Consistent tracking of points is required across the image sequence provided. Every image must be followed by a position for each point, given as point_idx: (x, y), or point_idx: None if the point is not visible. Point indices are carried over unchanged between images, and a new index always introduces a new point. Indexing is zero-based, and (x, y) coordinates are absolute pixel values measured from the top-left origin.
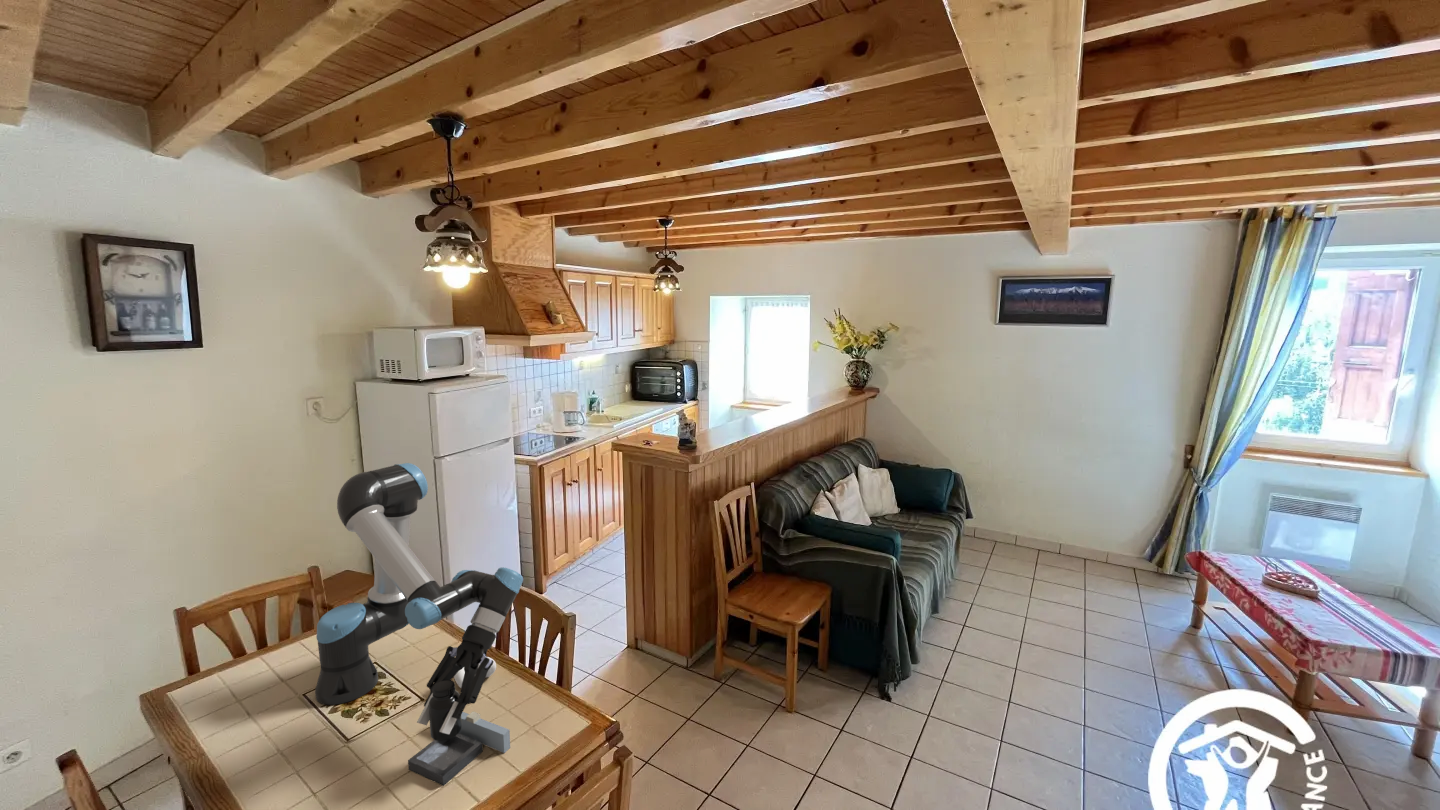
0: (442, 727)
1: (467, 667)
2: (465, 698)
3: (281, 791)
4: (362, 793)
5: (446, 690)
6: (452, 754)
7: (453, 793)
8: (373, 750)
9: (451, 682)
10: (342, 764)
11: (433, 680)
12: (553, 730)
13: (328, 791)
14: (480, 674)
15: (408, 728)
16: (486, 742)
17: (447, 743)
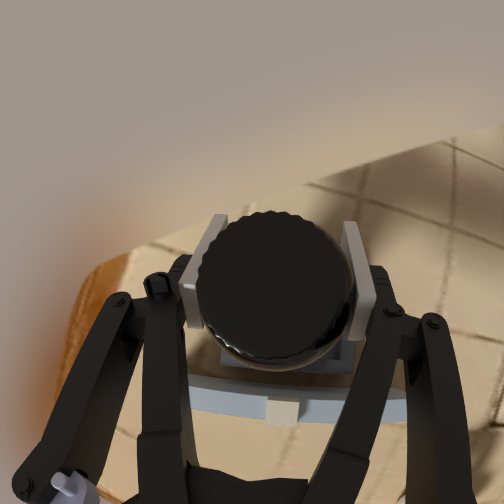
0: (218, 221)
1: (151, 450)
2: (143, 310)
3: (493, 139)
4: (384, 169)
5: (209, 249)
6: None
7: (200, 235)
8: (470, 263)
9: (247, 338)
10: (482, 212)
11: (425, 344)
12: (122, 451)
13: (440, 156)
14: (58, 409)
15: (461, 347)
16: (228, 381)
17: (332, 348)
